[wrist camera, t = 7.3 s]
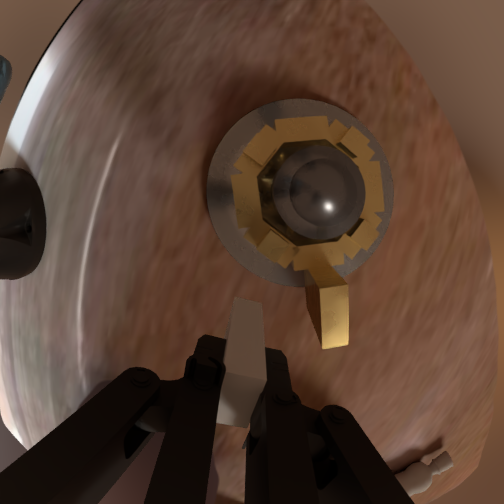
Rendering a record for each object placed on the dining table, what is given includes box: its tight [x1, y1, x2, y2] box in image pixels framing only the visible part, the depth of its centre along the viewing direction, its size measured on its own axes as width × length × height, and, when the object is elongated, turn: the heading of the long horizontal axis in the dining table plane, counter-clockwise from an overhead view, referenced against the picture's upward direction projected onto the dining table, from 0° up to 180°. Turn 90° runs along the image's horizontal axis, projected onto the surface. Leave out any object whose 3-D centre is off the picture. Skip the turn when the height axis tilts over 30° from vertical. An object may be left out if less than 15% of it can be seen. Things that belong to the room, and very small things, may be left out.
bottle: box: [395, 451, 453, 497], centre depth 33 cm, size 9×9×30 cm
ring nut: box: [231, 116, 385, 349], centre depth 21 cm, size 12×17×8 cm
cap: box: [207, 99, 394, 287], centre depth 21 cm, size 18×18×9 cm
